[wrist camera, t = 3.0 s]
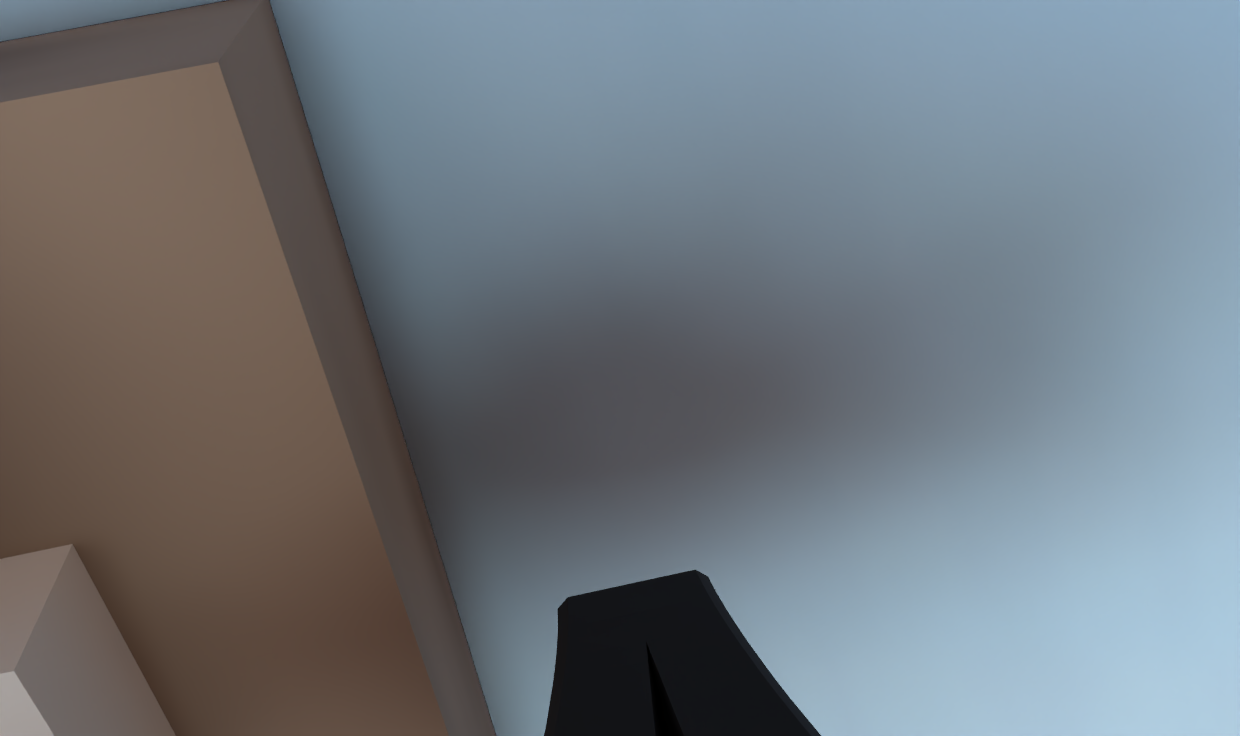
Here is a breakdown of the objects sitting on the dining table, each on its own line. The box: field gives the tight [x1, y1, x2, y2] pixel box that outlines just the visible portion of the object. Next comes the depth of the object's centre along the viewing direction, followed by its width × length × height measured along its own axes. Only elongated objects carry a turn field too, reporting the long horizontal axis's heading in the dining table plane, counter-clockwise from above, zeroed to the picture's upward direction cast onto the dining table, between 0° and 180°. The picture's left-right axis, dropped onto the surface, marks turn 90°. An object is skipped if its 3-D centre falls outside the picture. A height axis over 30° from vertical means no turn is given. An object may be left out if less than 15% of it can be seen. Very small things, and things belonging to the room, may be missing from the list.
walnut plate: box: [0, 0, 496, 736], centre depth 11 cm, size 9×12×2 cm
